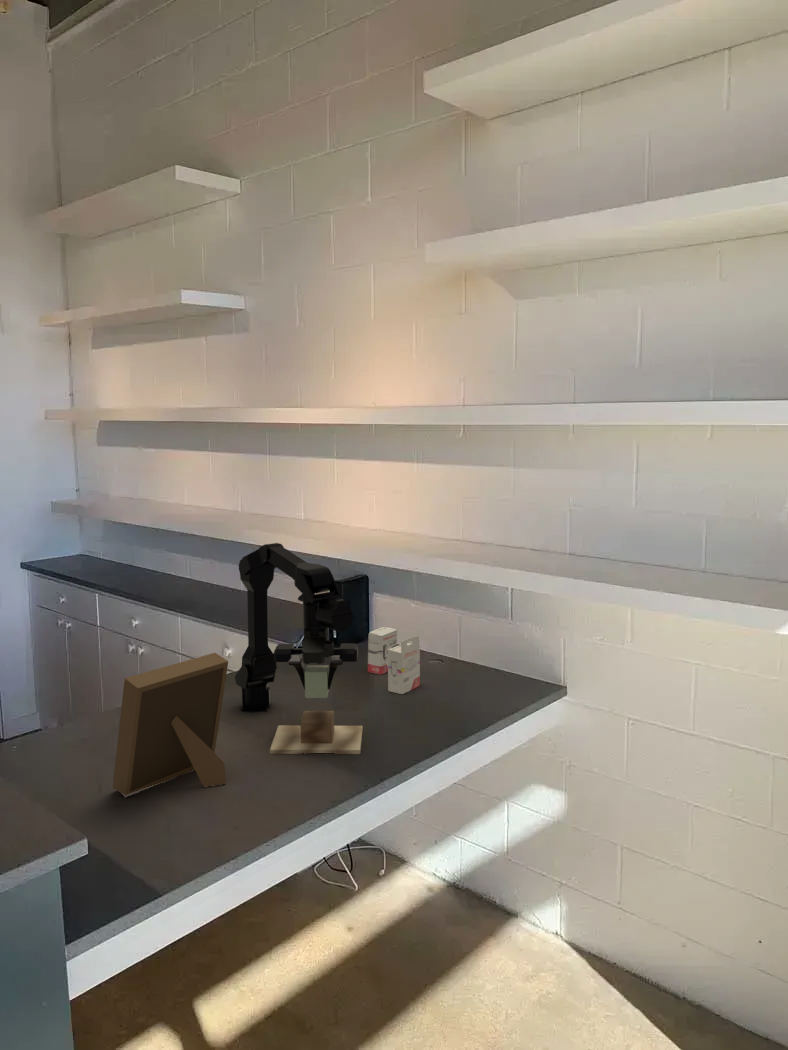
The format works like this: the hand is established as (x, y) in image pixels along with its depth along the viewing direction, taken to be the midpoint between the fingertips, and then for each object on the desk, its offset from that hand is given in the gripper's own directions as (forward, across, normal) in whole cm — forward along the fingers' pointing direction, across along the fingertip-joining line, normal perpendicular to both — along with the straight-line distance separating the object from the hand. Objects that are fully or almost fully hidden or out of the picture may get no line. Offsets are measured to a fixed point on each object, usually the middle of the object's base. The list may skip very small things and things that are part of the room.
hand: (317, 689), depth 194 cm
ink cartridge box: (+12, +20, +35) cm, 42 cm away
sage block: (+1, 0, 0) cm, 1 cm away
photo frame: (+12, -26, -23) cm, 37 cm away
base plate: (+12, 0, -1) cm, 12 cm away
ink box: (+12, +14, +51) cm, 55 cm away
